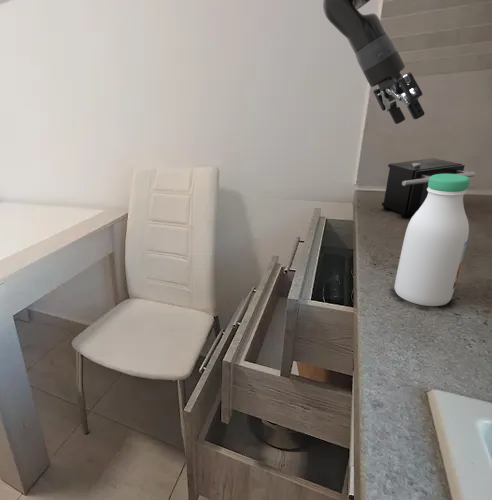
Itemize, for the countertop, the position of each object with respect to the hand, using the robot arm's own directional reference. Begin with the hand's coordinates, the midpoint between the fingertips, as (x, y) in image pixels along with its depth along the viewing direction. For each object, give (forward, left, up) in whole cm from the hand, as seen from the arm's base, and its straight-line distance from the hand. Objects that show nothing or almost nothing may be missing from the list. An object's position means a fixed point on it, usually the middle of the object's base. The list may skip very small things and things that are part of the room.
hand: (409, 119), depth 89 cm
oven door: (-3, +11, -20) cm, 23 cm away
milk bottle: (+10, +46, -22) cm, 52 cm away
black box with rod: (-4, +4, -22) cm, 23 cm away
